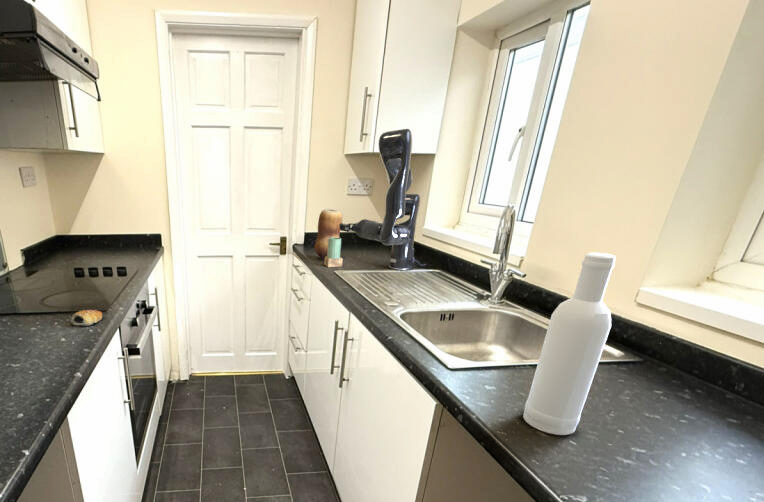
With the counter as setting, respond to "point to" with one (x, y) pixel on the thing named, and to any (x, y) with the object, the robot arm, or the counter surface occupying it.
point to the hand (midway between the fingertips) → (348, 225)
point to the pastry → (86, 317)
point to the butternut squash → (327, 230)
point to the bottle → (571, 351)
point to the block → (333, 262)
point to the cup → (334, 248)
